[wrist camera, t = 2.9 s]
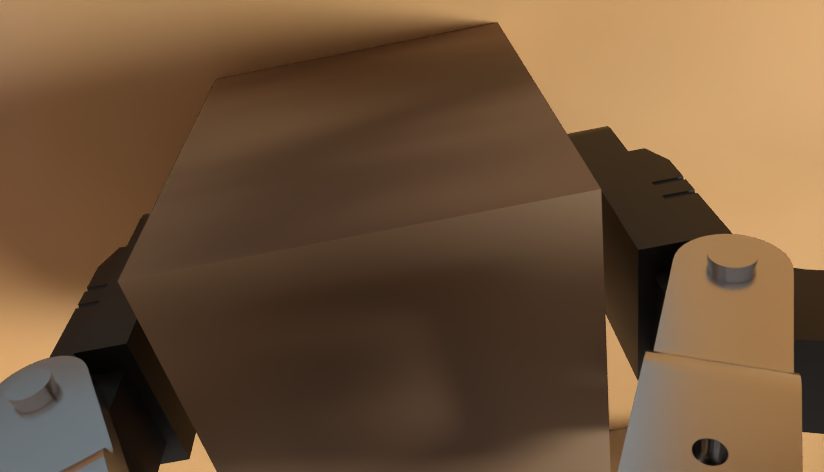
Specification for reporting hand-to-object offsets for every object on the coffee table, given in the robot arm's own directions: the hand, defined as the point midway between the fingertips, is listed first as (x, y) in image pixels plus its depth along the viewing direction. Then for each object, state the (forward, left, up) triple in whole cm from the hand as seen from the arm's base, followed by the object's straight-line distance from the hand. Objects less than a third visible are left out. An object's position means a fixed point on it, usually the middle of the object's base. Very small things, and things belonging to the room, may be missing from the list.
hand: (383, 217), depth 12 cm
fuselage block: (0, 0, -2) cm, 2 cm away
